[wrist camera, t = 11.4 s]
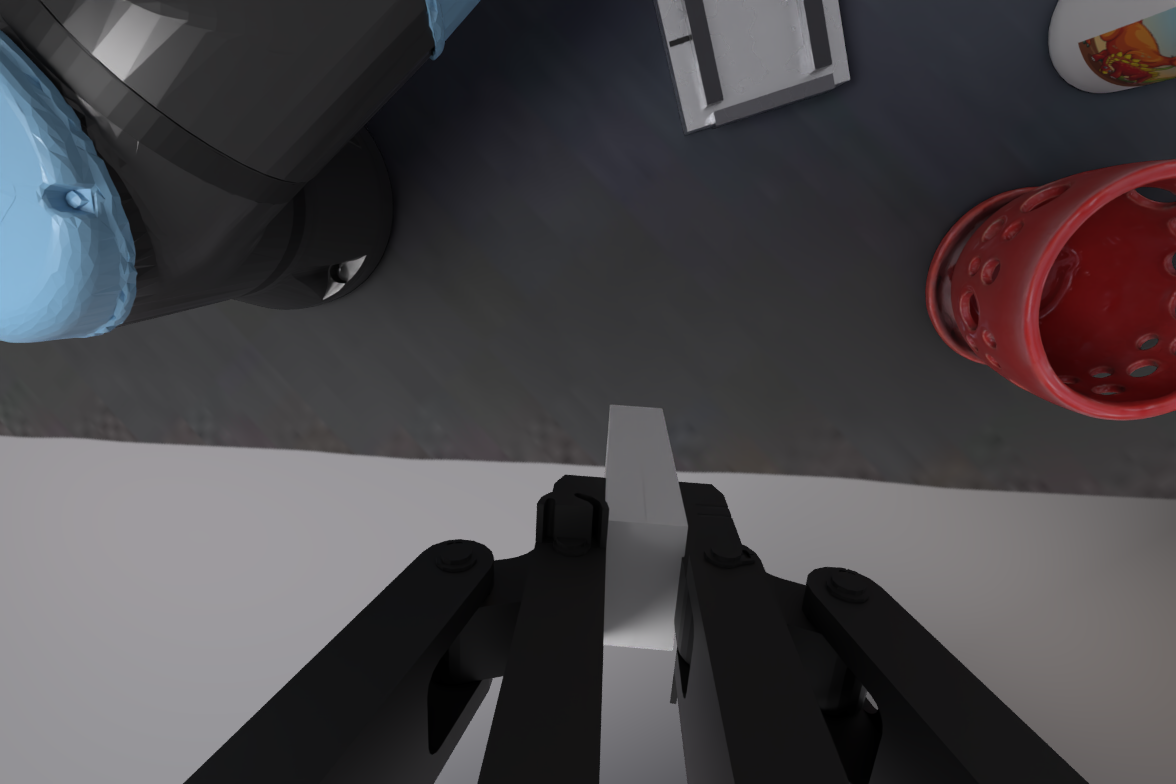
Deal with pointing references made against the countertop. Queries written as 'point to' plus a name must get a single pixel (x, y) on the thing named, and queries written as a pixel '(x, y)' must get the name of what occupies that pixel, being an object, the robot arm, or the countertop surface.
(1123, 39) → the milk bottle
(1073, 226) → the plant pot
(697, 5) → the fader strip
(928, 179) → the countertop surface
